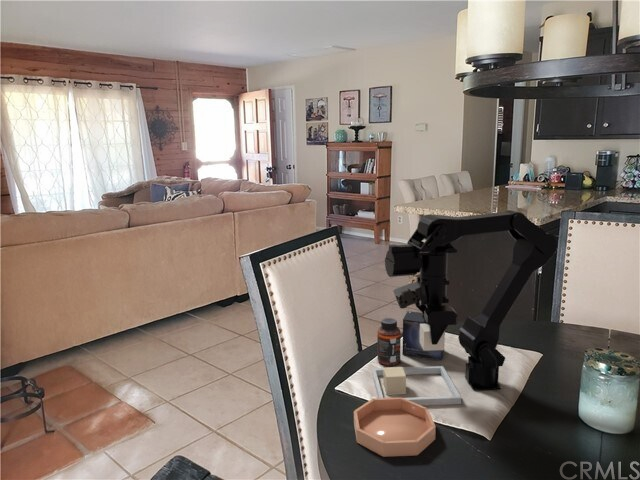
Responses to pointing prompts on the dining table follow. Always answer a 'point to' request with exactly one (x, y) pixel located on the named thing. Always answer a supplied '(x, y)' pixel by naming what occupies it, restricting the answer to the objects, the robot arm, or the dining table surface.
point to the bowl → (394, 427)
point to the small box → (416, 338)
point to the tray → (424, 400)
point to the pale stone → (429, 339)
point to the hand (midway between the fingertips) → (431, 339)
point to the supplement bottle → (388, 342)
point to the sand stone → (394, 380)
